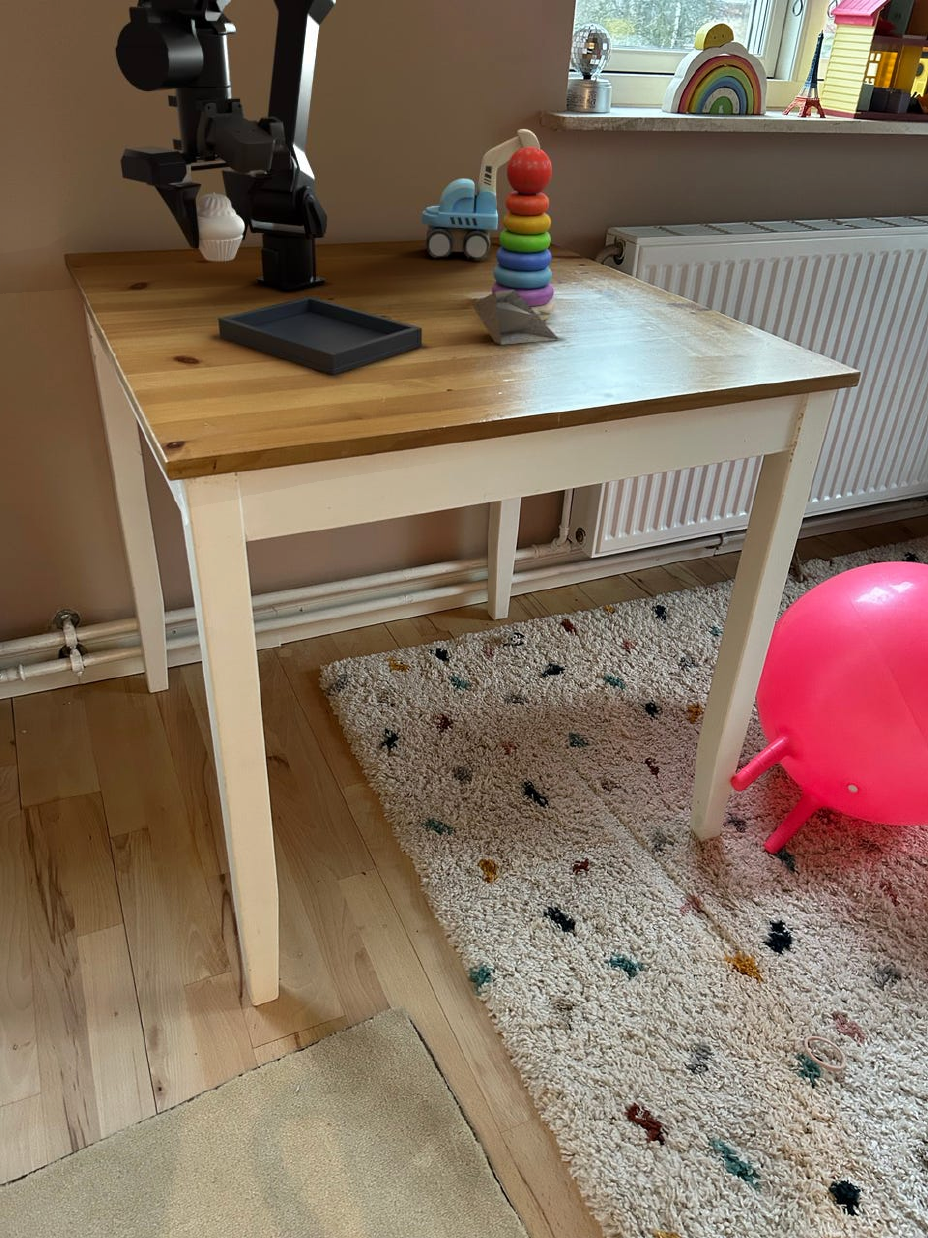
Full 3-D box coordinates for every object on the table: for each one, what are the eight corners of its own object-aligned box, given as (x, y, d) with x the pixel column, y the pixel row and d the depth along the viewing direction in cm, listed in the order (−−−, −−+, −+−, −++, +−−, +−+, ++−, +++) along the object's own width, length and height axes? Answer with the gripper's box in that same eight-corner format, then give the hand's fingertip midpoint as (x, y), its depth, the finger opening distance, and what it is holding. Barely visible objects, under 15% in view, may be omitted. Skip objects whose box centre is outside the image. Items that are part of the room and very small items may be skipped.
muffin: (218, 249, 111) (211, 184, 108) (258, 257, 109) (253, 191, 105) (179, 258, 107) (172, 191, 103) (221, 267, 104) (214, 198, 101)
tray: (310, 314, 114) (309, 296, 112) (422, 346, 105) (422, 327, 103) (219, 337, 104) (217, 318, 103) (333, 375, 95) (332, 354, 94)
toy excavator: (533, 264, 140) (543, 134, 131) (420, 259, 140) (422, 128, 130) (530, 251, 147) (539, 127, 138) (423, 246, 147) (424, 121, 138)
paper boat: (523, 313, 113) (587, 308, 107) (511, 365, 113) (574, 363, 107) (458, 268, 104) (524, 259, 98) (445, 324, 104) (510, 319, 98)
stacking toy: (484, 306, 120) (493, 140, 109) (547, 307, 120) (561, 142, 110) (491, 324, 113) (501, 149, 103) (557, 325, 114) (574, 152, 103)
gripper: (177, 95, 88) (196, 270, 97) (322, 89, 101) (328, 244, 109) (106, 85, 94) (130, 251, 102) (252, 80, 106) (263, 228, 115)
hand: (217, 243), depth 107 cm, fingers closed on muffin, 6 cm apart
